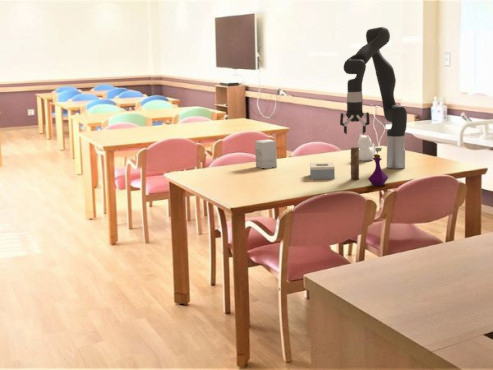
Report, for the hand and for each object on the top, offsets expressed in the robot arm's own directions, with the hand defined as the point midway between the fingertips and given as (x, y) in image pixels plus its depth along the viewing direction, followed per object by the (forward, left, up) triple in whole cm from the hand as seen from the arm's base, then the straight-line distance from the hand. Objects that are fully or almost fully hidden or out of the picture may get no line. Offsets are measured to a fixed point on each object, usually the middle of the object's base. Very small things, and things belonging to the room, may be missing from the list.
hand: (354, 133), depth 353 cm
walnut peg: (0, 0, -23) cm, 23 cm away
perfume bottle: (-10, +14, -23) cm, 29 cm away
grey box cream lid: (+16, -8, -23) cm, 29 cm away
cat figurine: (-11, -54, -23) cm, 60 cm away
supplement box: (+46, -38, -23) cm, 64 cm away
